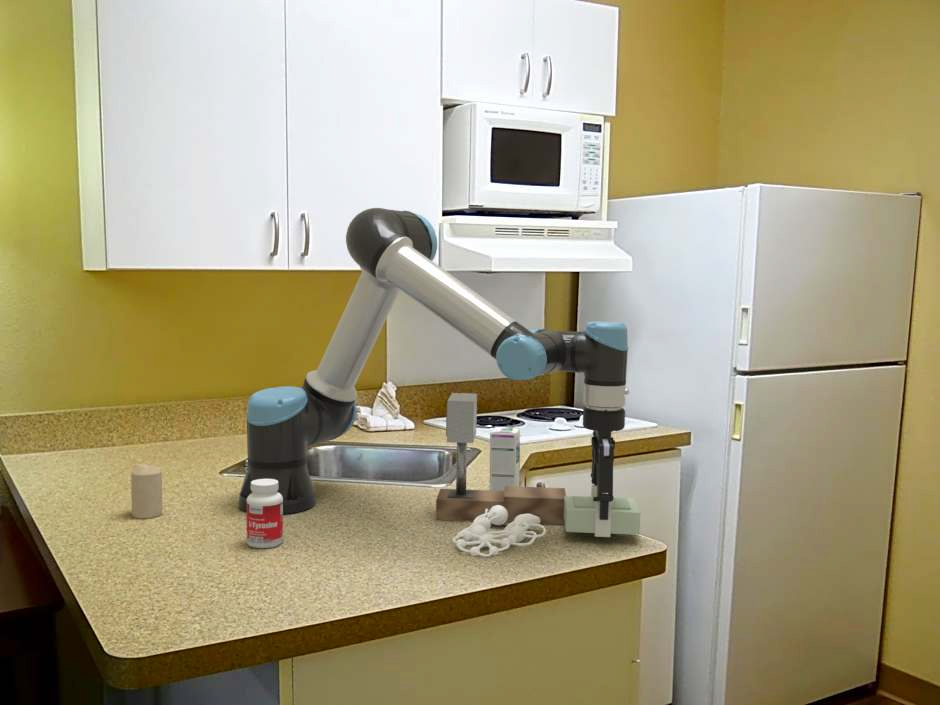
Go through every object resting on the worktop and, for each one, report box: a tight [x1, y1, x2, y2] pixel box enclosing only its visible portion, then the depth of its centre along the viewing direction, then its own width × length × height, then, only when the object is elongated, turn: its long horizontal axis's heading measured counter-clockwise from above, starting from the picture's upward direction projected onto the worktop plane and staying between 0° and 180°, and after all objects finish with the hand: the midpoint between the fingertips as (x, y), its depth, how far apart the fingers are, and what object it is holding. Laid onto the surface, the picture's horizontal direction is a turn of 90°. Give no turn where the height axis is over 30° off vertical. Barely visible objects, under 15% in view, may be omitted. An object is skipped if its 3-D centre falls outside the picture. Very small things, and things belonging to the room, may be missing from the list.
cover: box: [564, 495, 641, 536], centre depth 154 cm, size 13×9×4 cm
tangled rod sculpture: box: [452, 505, 547, 558], centre depth 150 cm, size 19×14×4 cm
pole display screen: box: [445, 392, 478, 495], centre depth 165 cm, size 10×5×19 cm, turn 176°
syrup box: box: [489, 426, 521, 491], centre depth 180 cm, size 6×6×14 cm
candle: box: [130, 462, 163, 520], centre depth 162 cm, size 6×6×10 cm
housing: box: [435, 486, 567, 525], centre depth 166 cm, size 25×8×5 cm, turn 86°
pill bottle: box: [246, 479, 284, 549], centre depth 147 cm, size 6×6×11 cm
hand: (600, 527), depth 155 cm, fingers closed on cover, 9 cm apart
